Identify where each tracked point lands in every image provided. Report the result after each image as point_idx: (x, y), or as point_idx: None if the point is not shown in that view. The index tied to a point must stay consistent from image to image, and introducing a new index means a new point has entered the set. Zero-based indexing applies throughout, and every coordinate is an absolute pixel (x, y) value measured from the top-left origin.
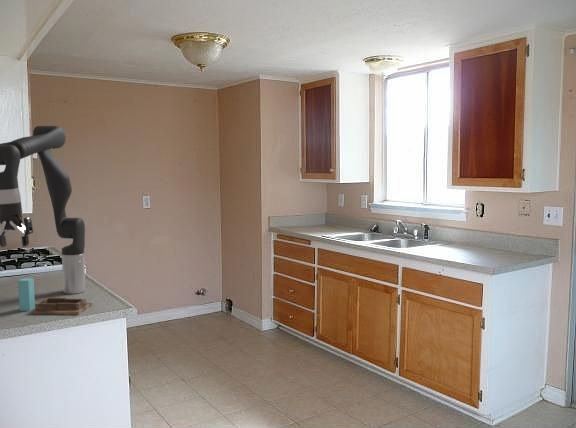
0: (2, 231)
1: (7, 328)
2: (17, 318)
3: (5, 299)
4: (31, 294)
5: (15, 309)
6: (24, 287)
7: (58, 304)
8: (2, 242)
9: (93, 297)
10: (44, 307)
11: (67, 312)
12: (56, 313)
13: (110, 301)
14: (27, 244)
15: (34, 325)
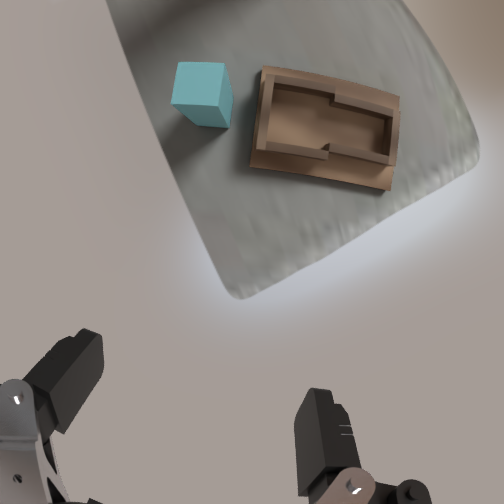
0: (63, 490)
1: (233, 290)
2: (221, 200)
3: (115, 21)
4: (227, 102)
5: None
6: (203, 111)
7: (333, 152)
8: (86, 390)
9: (367, 14)
10: (287, 154)
11: (361, 184)
12: (328, 178)
13: (425, 67)
14: (328, 399)
15: (295, 271)
